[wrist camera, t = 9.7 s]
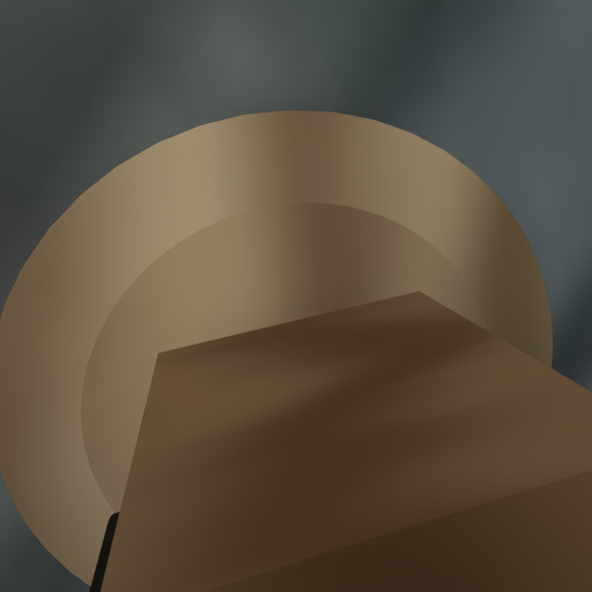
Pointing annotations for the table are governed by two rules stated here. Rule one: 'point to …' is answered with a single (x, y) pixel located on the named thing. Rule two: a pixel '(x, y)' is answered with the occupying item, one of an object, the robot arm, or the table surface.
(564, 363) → the table surface
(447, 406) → the walnut cube
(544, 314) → the plate
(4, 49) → the table surface
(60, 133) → the table surface
